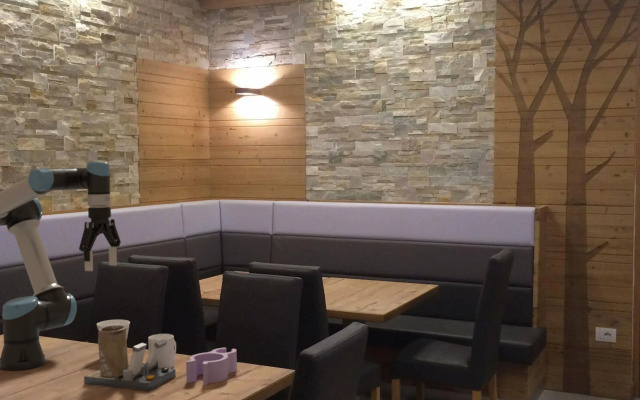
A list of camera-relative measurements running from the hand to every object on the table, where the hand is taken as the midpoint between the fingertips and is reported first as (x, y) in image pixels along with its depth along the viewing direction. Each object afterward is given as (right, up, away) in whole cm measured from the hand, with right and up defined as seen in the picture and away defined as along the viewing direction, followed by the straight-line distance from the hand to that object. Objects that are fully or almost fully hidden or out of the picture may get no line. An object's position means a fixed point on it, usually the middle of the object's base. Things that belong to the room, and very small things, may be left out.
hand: (101, 268), depth 255 cm
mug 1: (+7, -33, -15) cm, 37 cm away
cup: (0, -34, +16) cm, 38 cm away
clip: (+40, -35, -10) cm, 54 cm away
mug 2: (+22, -35, +2) cm, 41 cm away
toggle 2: (+19, -31, -11) cm, 38 cm away
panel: (+14, -35, -14) cm, 41 cm away
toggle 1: (+16, -32, -20) cm, 41 cm away
